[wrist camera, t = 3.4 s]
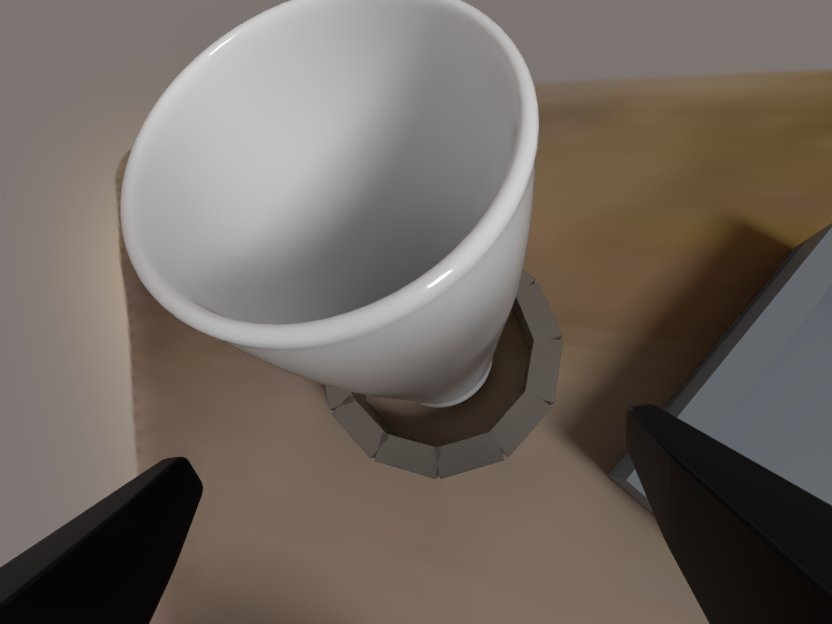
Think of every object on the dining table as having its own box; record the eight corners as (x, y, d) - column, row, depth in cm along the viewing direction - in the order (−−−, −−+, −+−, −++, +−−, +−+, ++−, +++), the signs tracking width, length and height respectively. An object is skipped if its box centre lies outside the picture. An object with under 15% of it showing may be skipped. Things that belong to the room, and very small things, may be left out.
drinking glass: (466, 272, 21) (411, -79, 7) (535, 382, 18) (665, 175, 4) (356, 331, 21) (86, 100, 7) (410, 449, 18) (149, 453, 4)
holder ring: (445, 527, 17) (439, 537, 15) (298, 363, 21) (279, 354, 19) (602, 346, 18) (614, 335, 16) (435, 224, 22) (430, 203, 20)
